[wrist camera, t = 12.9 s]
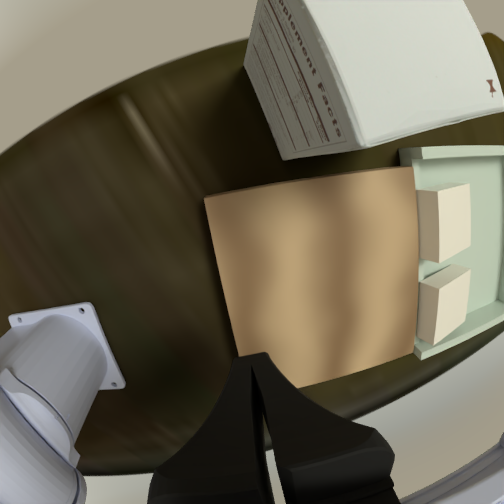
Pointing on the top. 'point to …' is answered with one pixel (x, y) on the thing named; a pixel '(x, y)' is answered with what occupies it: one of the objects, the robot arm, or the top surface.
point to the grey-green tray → (482, 232)
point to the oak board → (321, 270)
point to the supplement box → (366, 71)
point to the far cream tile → (443, 303)
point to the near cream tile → (443, 220)
